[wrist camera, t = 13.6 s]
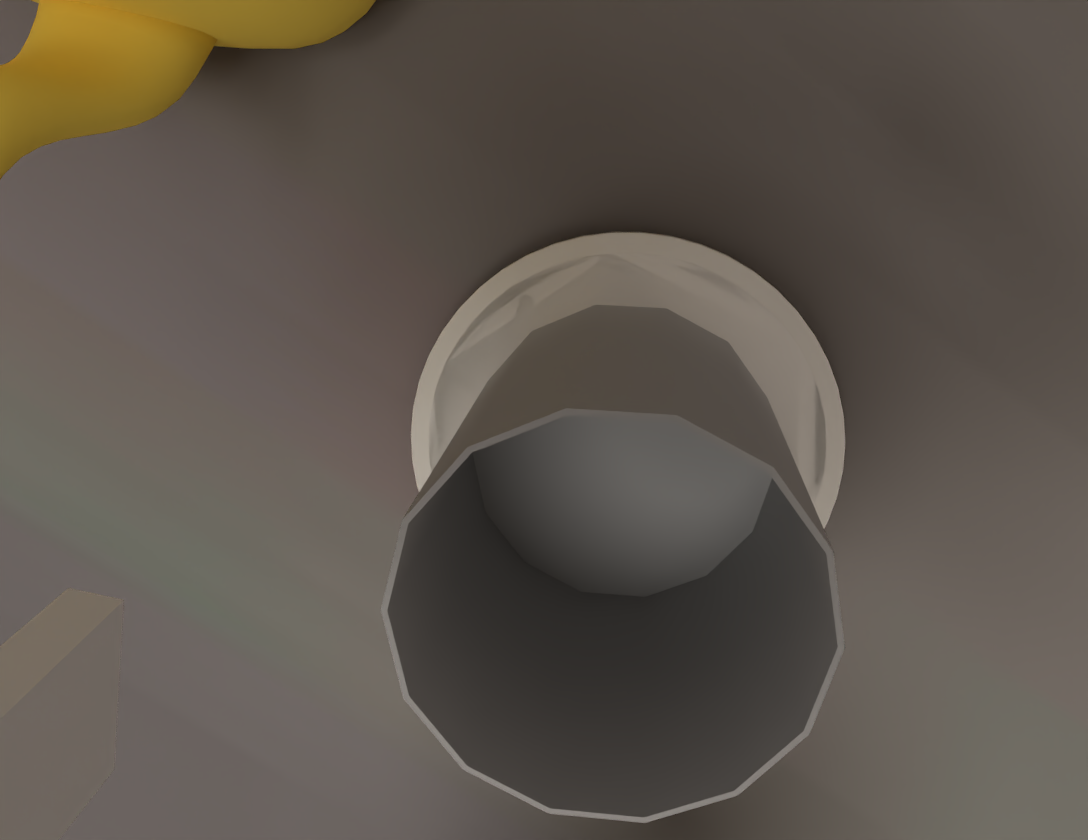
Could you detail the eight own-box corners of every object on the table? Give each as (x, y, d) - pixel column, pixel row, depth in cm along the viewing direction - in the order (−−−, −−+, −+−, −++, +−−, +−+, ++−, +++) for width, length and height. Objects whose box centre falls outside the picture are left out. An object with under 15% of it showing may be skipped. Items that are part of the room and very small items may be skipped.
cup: (835, 400, 27) (939, 556, 17) (679, 636, 29) (695, 888, 20) (557, 248, 26) (505, 323, 17) (423, 501, 29) (311, 692, 19)
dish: (455, 189, 27) (446, 192, 26) (890, 276, 27) (901, 284, 26) (393, 578, 31) (384, 596, 30) (776, 662, 30) (780, 683, 29)
